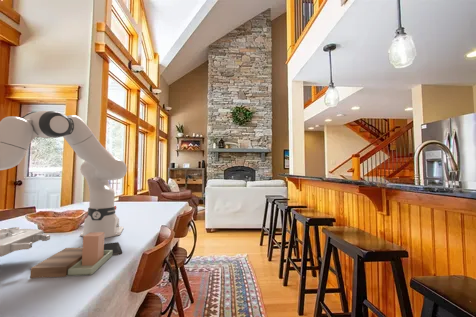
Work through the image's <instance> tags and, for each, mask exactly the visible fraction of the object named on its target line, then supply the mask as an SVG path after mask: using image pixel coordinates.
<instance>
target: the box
mask: <svg viewBox="0 0 476 317" xmlns="http://www.w3.org/2000/svg"><path fill="white" fill-rule="evenodd" d="M104 254H106V255H103V258H101V259H100V260H99V261H98V262H97V263H96V264H95V265H87V266H82V260H80V261H79V262H77V263H76V264H75V265H73V266H72V267H71V268H69V269H68V275H67V277H71V276H72V277H73V276H92V275H93V274H94V273H95V272H96V271H98V270H99V269H100V268H101V267H102V266H103V265H104V264H105V263H106V262H107V261H108V260H109V259H111V257H112V256H113V255H112V254H113V250H104Z"/></svg>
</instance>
